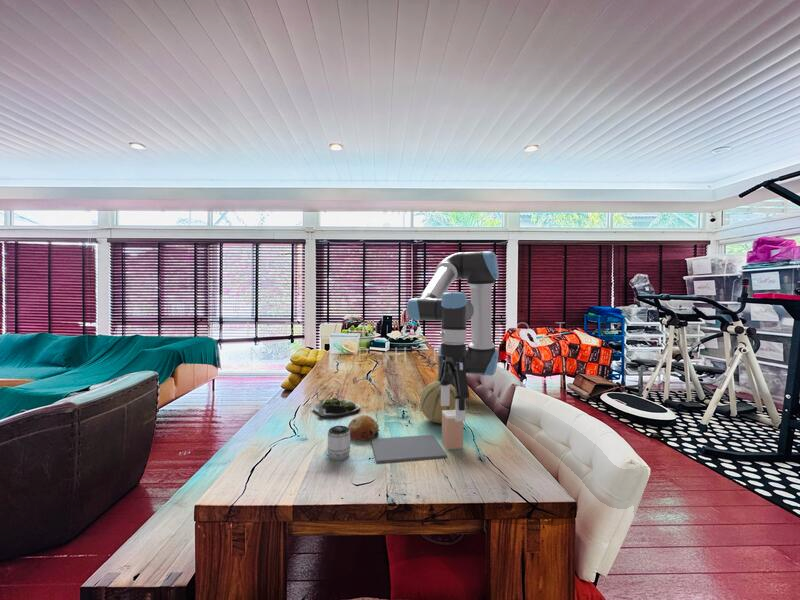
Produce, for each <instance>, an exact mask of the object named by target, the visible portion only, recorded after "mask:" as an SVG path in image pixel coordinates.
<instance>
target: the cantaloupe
mask: <svg viewBox="0 0 800 600" xmlns="http://www.w3.org/2000/svg"><path fill="white" fill-rule="evenodd" d="M441 386H442V385H441V384H440V382H439V381H437V380H435V381H431V382H429V383H428V384H427V385H426V386H424V388H423V390H422V391H421V393H420V398H419V405H420V410H421V413H422V414H423V416H425V417H426V418H427V420H429V421H431V422H432V423H436V424H442V410H455V408H456V399H455V397H456V396H457V394H456V390H455V388H454V387H453V386H452V385H449V386H450V402H449V406H441Z"/></svg>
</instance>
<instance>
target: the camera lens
mask: <svg viewBox="0 0 800 600" xmlns="http://www.w3.org/2000/svg"><path fill="white" fill-rule="evenodd" d="M350 451H351V438H350V429H349V428H348V426H344V425H336V426H335V425H334V426H331V427H330V428H329V429H328V431H327V454H328V458H329V459H330V460H332V461H333V460H334V461H343V460H346V459H347V458H348V457H349V456H350Z"/></svg>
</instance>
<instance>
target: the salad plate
mask: <svg viewBox="0 0 800 600" xmlns="http://www.w3.org/2000/svg"><path fill="white" fill-rule="evenodd" d="M312 409H313V411H314V412H316V413H317V414H318V415H319V416H322V417H323V418H325V419H338V418H344V417H348V416H351V415H355V414H357V413H358V412H359V411H360V410H361V405H359V404H357V403H355V402H353V401H351V400H349V399H344V398H343V399H340V398H336V397H332V398H328V397H327V398H325V400H324V399H320V400H319V402H318V403H316V404H314V405H313V406H312Z"/></svg>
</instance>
